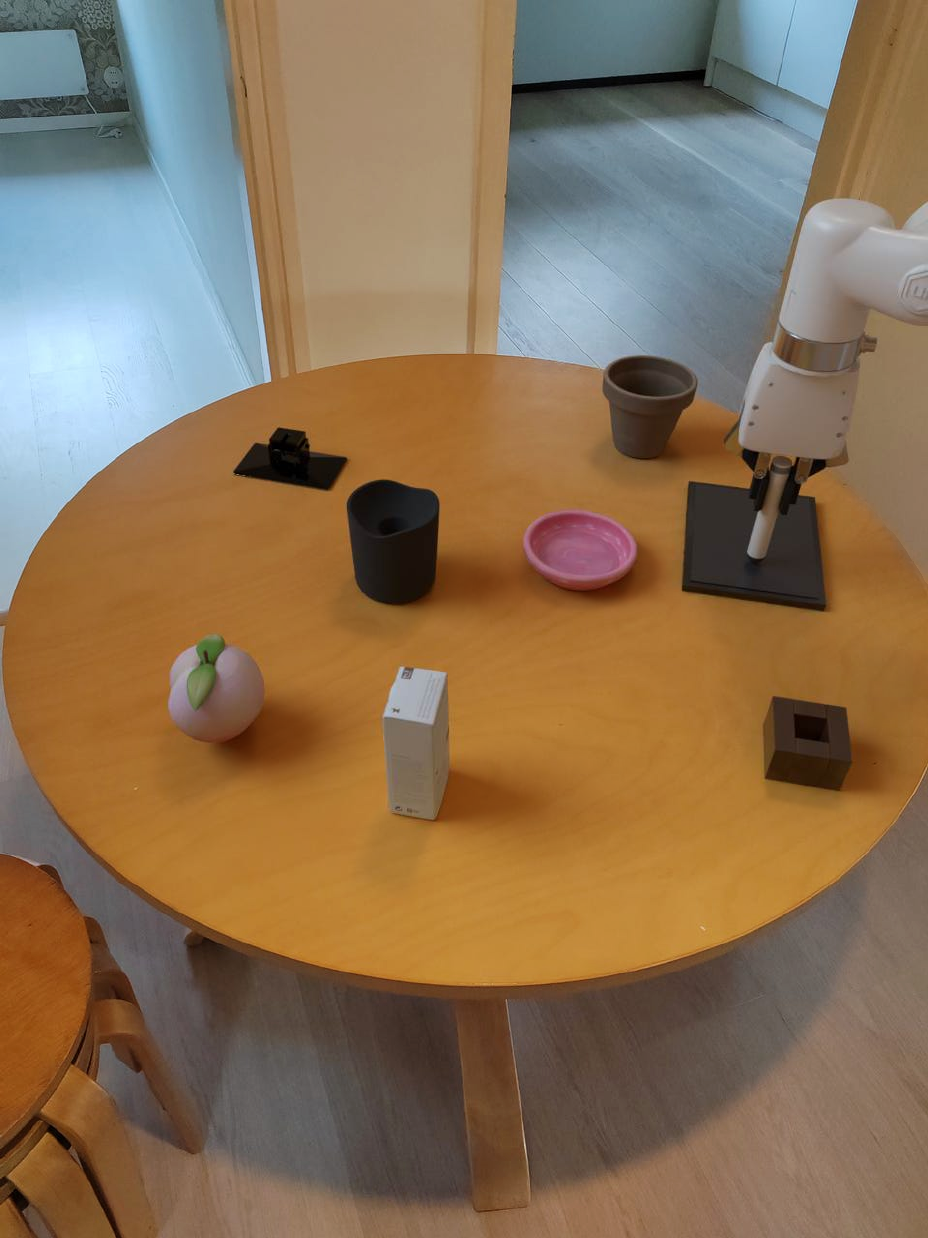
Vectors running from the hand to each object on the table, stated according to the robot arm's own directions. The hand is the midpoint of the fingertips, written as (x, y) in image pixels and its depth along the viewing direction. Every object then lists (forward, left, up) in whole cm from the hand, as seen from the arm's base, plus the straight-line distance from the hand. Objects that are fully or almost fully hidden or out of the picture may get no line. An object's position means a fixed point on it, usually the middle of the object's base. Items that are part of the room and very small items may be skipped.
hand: (770, 504), depth 103 cm
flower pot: (+14, -22, -9) cm, 28 cm away
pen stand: (-4, +27, -9) cm, 28 cm away
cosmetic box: (+29, +38, -9) cm, 48 cm away
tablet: (0, -4, -9) cm, 10 cm away
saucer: (+19, +4, -9) cm, 21 cm away
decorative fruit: (+48, +35, -9) cm, 60 cm away
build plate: (+56, -7, -9) cm, 57 cm away
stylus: (0, 0, -8) cm, 8 cm away
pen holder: (+38, +11, -9) cm, 40 cm away
